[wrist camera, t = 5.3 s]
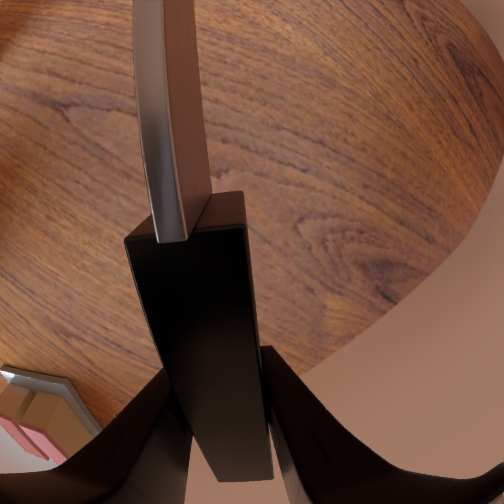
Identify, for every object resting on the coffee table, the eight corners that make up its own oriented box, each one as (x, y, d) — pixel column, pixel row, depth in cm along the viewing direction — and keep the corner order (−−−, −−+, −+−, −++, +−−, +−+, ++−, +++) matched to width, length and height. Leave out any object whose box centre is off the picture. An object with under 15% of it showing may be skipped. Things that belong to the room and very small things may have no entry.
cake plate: (2, 364, 22) (-22, 398, 16) (68, 378, 22) (43, 425, 16) (46, 425, 27) (31, 458, 21) (112, 442, 27) (100, 482, 21)
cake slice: (38, 390, 22) (18, 424, 17) (62, 396, 22) (42, 434, 17) (69, 431, 25) (56, 464, 20) (93, 437, 25) (81, 472, 20)
